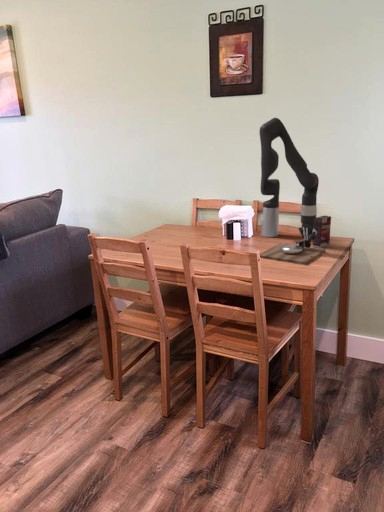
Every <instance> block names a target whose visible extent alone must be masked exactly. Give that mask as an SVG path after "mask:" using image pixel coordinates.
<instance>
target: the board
mask: <svg viewBox="0 0 384 512" xmlns="http://www.w3.org/2000/svg"><path fill="white" fill-rule="evenodd" d="M285 245H289V244H286V243H278V244H276V245H275V246H272V247H271V248H269V249H266V250H265V251H263V252H261V253H259V254H260V257H261V259H267V260H272V261H273V260H274V261H280V262H285V263H291V264H292V263H293V264H298V265H304V266H307V265H308V264H309V263H311V262H313V261H314V260H315V259H317V258H318V257H320V256H321V255H323V254H324V253H326V249H325V248H317V247H311V246H310V247H309V248H307V247H304V248H302V253H299V254H286V253H283V252H282V247H283V246H285Z"/></svg>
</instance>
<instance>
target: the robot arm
mask: <svg viewBox="0 0 384 512" xmlns="http://www.w3.org/2000/svg"><path fill="white" fill-rule="evenodd" d="M277 138H280V140H282V142H283V147H284V156H285V160H286V163H287V164H288V165H289V167H290V169H291V170H292V171H293V172H294V174H295V176H296V178H297V180H298V181H299V184H300V185H301V186H302V187H303V188H304V189H303V193H302V196H301V207H300V209H301V210H300V223H301V227H298V231H299V234H300V235H301V237H302V239H303V240H305V247H307V248H309V247H310V248H311V246H312V245H311V244H312V241H313V240H314V238H315V237H316V235H317V234H318V231H316V230H315V223H316V217H317V195H318V190H319V182H320V181H319V176H318V175H317V173H315V172H311V171H310V170H309V168H308V164H307V162H306V161H305V159H304V158H303V156H302V155H301V154H300V152H299V150H298V149H297V147H296V146H295V143H294V142H293V140H292V137H291V136H290V133H289V132H288V131H287V128H286V126H285V124H284V123H283V122H282V121H281V119H280V118H278V117H273V118H271V119H269V120H267V121H266V122H264V123H263V124H262V125H261V126H260V127H259V141H260V150H261V151H260V154H261V155H260V156H261V157H260V162H261V163H260V168H261V177H260V193H261V195H262V196H273V197H271V198H270V199H268V200H265V201H263V202H262V219H261V222H260V223H261V224H260V225H261V226H260V227H261V230H260V231H261V233H260V236H261V237H265V238H276V237H278V236H279V222H280V218H279V217H280V216H279V215H280V190H281V187H280V186H281V183H280V180H279V179H278V178H277V179H276V178H271V179H270V177H271V176H273V174H274V173H275V172H276V171H277V169H278V168H279V157H280V156H279V153H278V152H277V151H276V150H275V149H274V148H273V147H272V144H273V143H272V142H273V141H274V140H277Z"/></svg>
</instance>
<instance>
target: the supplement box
mask: <svg viewBox="0 0 384 512" xmlns="http://www.w3.org/2000/svg"><path fill="white" fill-rule="evenodd" d="M331 223H332V216H331V215H330V216H329V215H324V214H323V215H320V216H316V223H315V230H316V231H318V234H317V235H316V237H315V238H314V240H312V248H318V249H323V248H325V247H328V246H330V243H331V242H330V240H331V228H332V227H331V225H332V224H331Z"/></svg>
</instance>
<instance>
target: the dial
mask: <svg viewBox="0 0 384 512" xmlns="http://www.w3.org/2000/svg"><path fill="white" fill-rule="evenodd" d="M304 247H305V240H304V239H300V240H297V241H295V244H288V245H285V246H283V247H282V252H283V253H286V254H299V253H302V248H304Z"/></svg>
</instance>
